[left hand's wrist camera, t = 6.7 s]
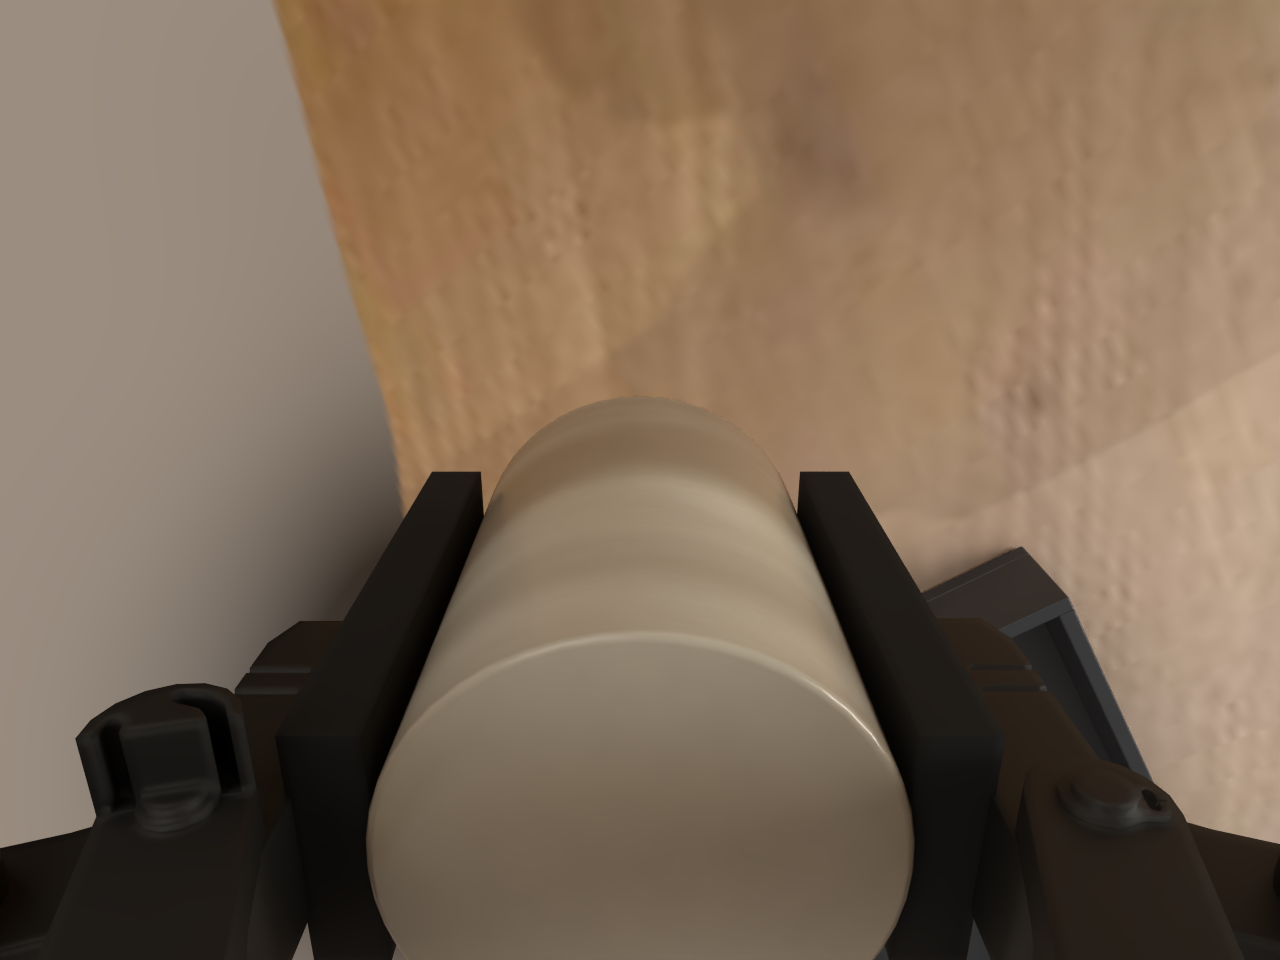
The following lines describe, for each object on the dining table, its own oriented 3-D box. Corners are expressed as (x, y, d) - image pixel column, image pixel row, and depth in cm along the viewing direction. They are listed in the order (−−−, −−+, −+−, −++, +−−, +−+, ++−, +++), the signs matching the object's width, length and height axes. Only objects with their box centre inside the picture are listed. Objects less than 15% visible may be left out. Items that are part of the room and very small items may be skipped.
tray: (682, 708, 33) (698, 908, 25) (1021, 544, 31) (1167, 704, 22) (936, 1087, 40) (1014, 1341, 32) (1225, 979, 38) (1392, 1222, 30)
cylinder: (477, 394, 14) (330, 633, 7) (805, 394, 14) (950, 633, 7) (495, 674, 16) (392, 1066, 9) (785, 675, 16) (888, 1066, 9)
